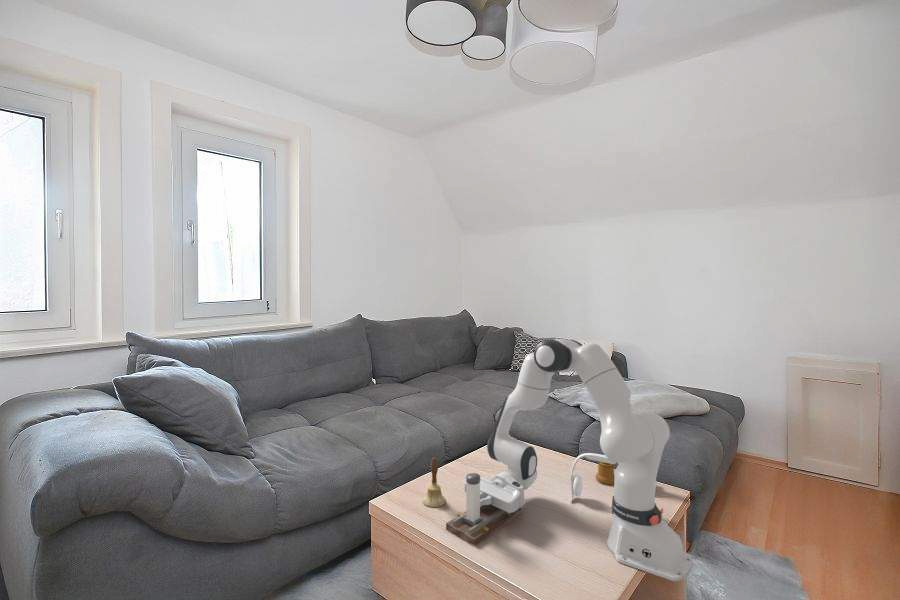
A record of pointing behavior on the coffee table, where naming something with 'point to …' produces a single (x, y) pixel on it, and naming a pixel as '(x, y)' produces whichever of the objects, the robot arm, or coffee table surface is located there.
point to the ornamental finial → (605, 473)
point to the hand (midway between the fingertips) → (476, 502)
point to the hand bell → (434, 489)
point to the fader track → (481, 524)
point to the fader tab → (472, 499)
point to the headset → (577, 481)
